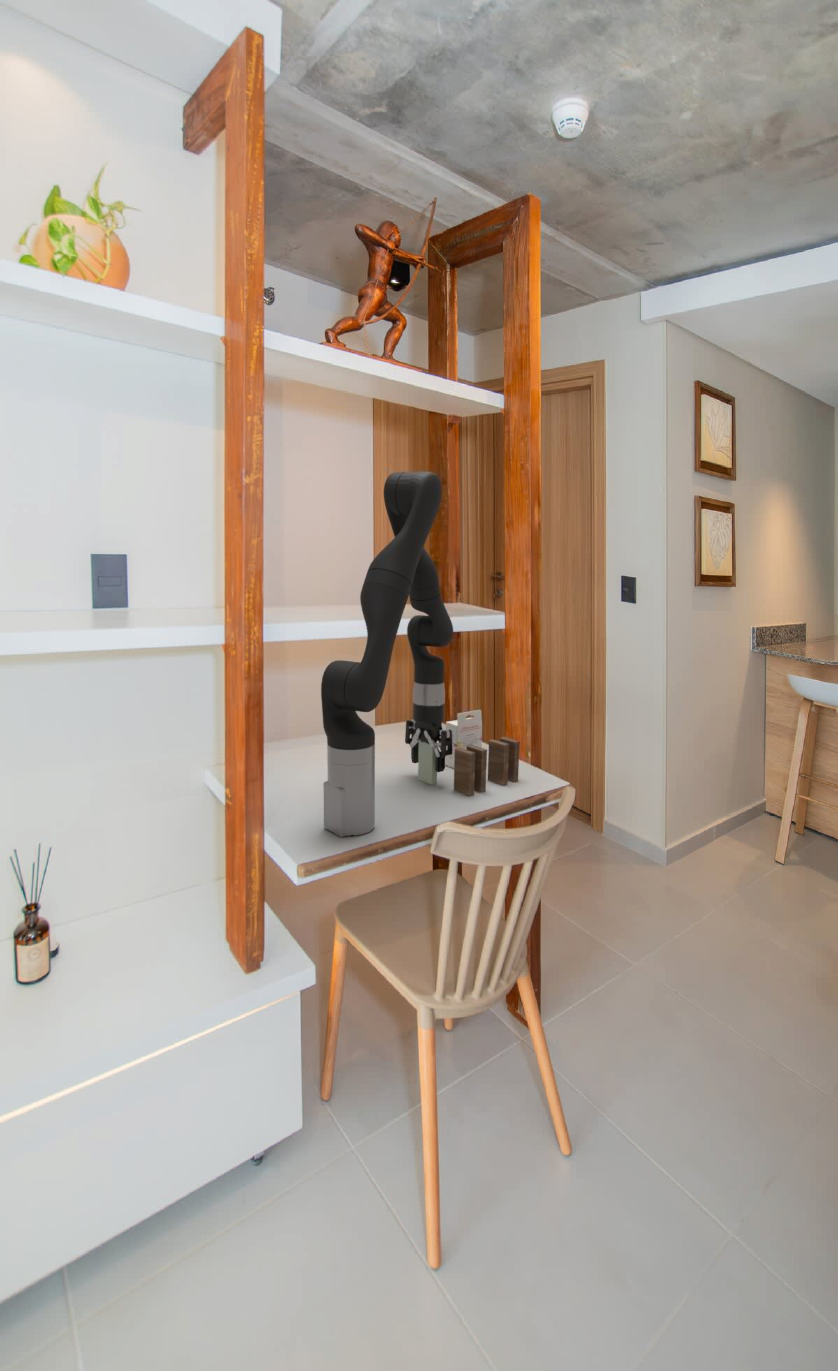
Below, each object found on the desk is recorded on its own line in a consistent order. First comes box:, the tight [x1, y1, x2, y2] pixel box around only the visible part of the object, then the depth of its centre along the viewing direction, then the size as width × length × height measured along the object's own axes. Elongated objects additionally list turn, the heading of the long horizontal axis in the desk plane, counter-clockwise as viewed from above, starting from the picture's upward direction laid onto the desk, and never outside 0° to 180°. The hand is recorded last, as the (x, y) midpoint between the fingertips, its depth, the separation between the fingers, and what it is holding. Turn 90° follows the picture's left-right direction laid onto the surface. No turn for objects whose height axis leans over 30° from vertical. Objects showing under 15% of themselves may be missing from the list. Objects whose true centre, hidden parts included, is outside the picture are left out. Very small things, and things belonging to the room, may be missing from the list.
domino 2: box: [467, 745, 488, 794], centre depth 153 cm, size 2×5×10 cm, turn 41°
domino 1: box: [453, 748, 475, 797], centre depth 151 cm, size 2×5×10 cm, turn 41°
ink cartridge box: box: [445, 709, 483, 769], centre depth 171 cm, size 9×5×15 cm, turn 126°
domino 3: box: [487, 739, 509, 786], centre depth 158 cm, size 2×5×10 cm, turn 41°
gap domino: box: [417, 739, 438, 785], centre depth 158 cm, size 2×5×10 cm, turn 41°
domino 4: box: [499, 736, 521, 783], centre depth 160 cm, size 2×5×10 cm, turn 41°
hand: (427, 766), depth 158 cm, fingers open, 8 cm apart
